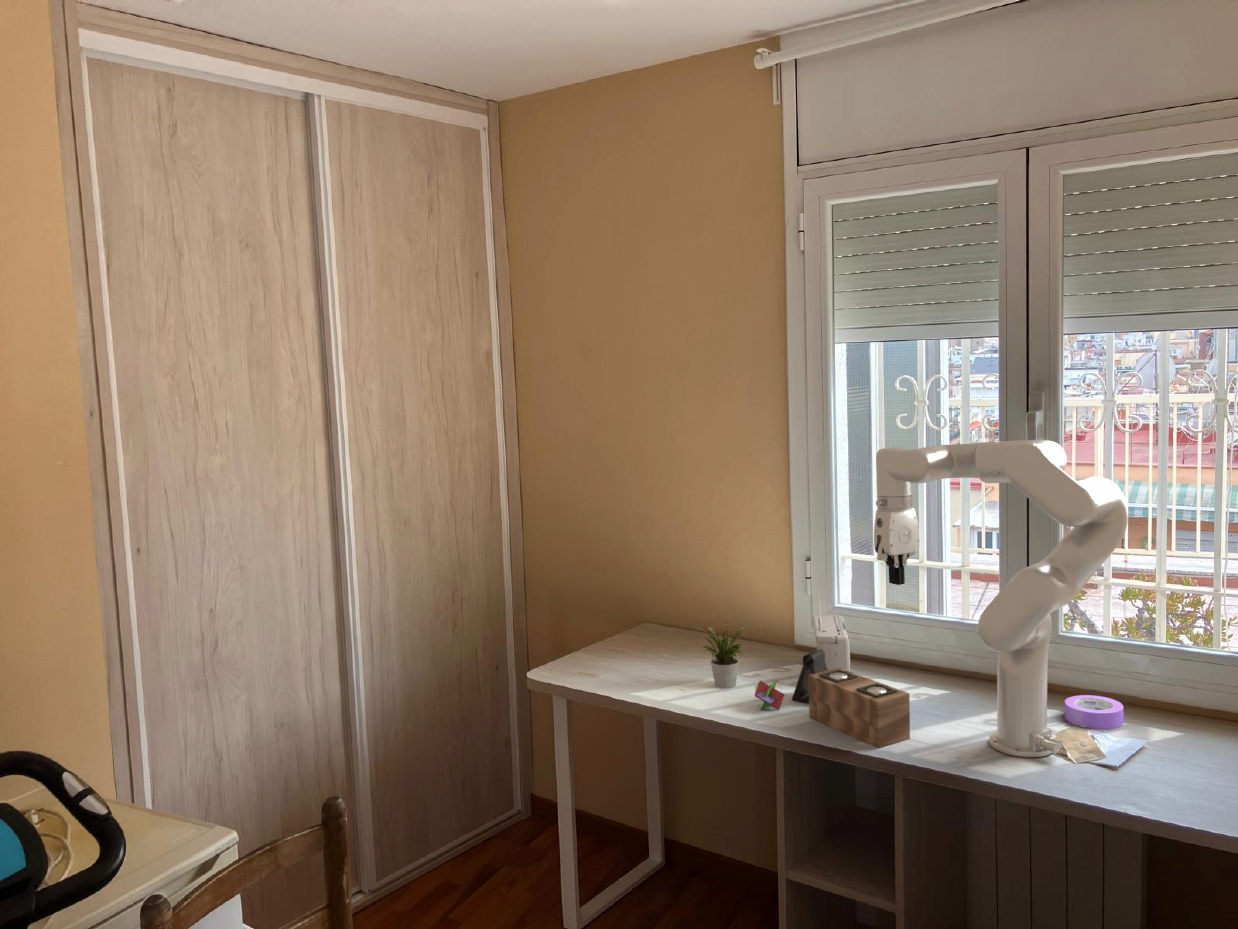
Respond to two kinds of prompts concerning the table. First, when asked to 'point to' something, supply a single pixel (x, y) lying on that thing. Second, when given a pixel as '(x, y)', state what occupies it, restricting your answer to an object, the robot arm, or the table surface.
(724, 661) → the house plant
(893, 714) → the block
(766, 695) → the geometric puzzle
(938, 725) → the table surface
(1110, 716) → the masking tape
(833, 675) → the peg far
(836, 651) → the stereo radio cassette player
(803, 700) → the phone stand
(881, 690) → the peg near
